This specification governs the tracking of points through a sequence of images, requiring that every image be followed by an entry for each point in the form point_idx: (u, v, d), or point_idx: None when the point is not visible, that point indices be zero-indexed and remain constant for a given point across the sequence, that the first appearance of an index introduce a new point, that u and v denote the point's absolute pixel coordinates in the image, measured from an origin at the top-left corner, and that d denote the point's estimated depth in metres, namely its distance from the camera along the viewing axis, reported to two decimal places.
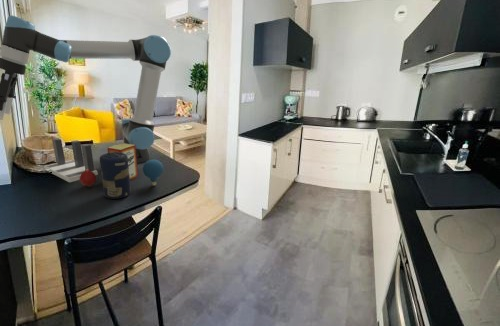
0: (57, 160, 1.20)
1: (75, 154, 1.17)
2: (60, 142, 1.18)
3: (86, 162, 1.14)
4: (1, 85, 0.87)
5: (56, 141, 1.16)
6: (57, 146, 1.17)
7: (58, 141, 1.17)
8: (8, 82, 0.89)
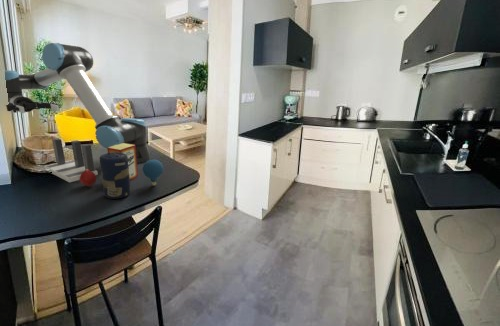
0: (57, 160, 1.20)
1: (75, 154, 1.17)
2: (60, 142, 1.18)
3: (86, 162, 1.14)
4: None
5: (56, 141, 1.16)
6: (57, 146, 1.17)
7: (58, 141, 1.17)
8: (9, 104, 1.18)
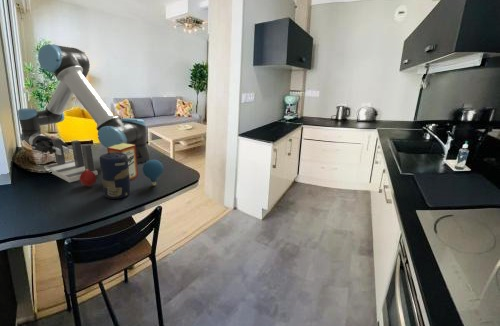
0: (57, 160, 1.20)
1: (75, 154, 1.17)
2: (60, 142, 1.18)
3: (86, 162, 1.14)
4: (38, 149, 1.18)
5: (56, 141, 1.16)
6: (57, 146, 1.17)
7: (58, 141, 1.17)
8: (35, 146, 1.18)
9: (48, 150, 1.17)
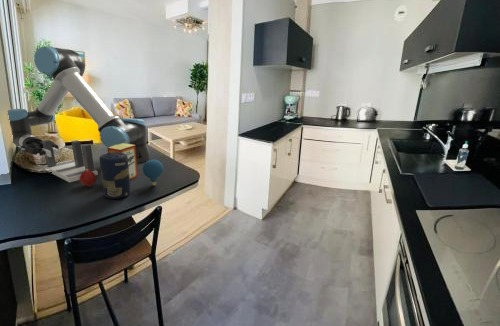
0: (47, 162, 1.17)
1: (75, 154, 1.17)
2: (50, 143, 1.15)
3: (86, 162, 1.14)
4: (28, 151, 1.15)
5: (46, 142, 1.13)
6: (47, 148, 1.14)
7: (48, 142, 1.14)
8: (25, 147, 1.15)
9: (38, 152, 1.14)
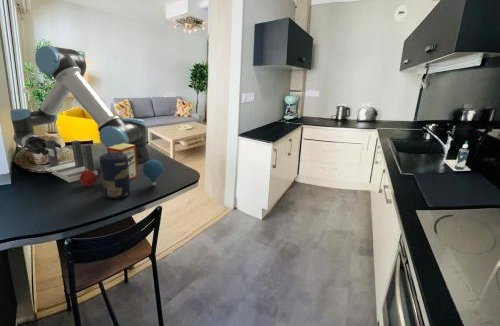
0: (50, 161, 1.18)
1: (75, 154, 1.17)
2: (53, 143, 1.16)
3: (86, 162, 1.14)
4: (31, 151, 1.16)
5: (49, 142, 1.14)
6: (50, 147, 1.15)
7: (51, 142, 1.15)
8: (28, 147, 1.16)
9: (41, 151, 1.15)
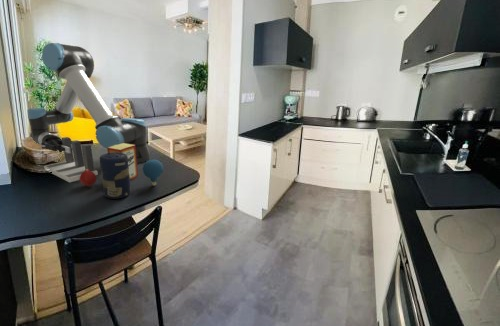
0: (66, 158, 1.23)
1: (75, 154, 1.17)
2: (69, 140, 1.21)
3: (86, 162, 1.14)
4: (48, 148, 1.21)
5: (65, 140, 1.20)
6: (66, 145, 1.20)
7: (67, 140, 1.20)
8: (45, 144, 1.21)
9: (57, 148, 1.20)
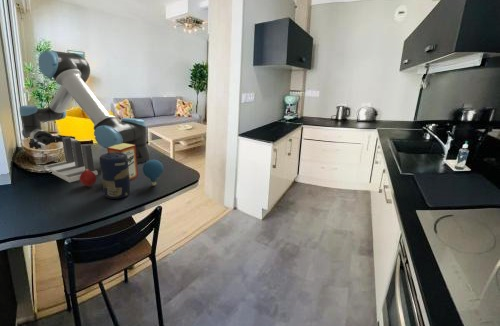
0: (66, 158, 1.23)
1: (75, 154, 1.17)
2: (69, 140, 1.21)
3: (86, 162, 1.14)
4: None
5: (66, 140, 1.20)
6: (66, 144, 1.21)
7: (67, 140, 1.20)
8: (31, 140, 1.25)
9: (33, 145, 1.21)
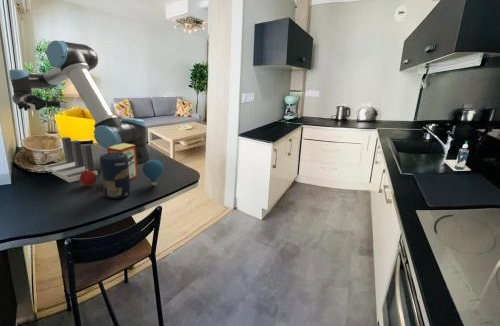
0: (66, 158, 1.23)
1: (75, 154, 1.17)
2: (69, 140, 1.21)
3: (86, 162, 1.14)
4: None
5: (66, 140, 1.20)
6: (66, 144, 1.21)
7: (67, 140, 1.20)
8: (20, 102, 1.21)
9: (22, 106, 1.17)
